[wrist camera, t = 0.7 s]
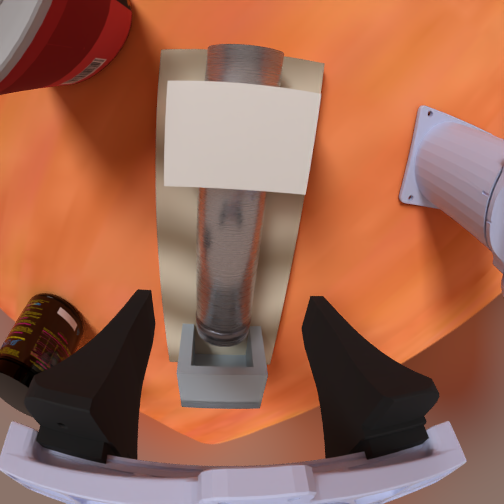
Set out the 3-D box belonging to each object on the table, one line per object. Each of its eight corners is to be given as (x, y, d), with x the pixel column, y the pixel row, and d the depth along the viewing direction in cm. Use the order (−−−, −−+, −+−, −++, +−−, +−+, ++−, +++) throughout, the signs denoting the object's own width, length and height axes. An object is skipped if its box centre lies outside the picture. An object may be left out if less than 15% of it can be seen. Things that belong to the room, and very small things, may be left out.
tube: (209, 52, 15) (204, 42, 11) (278, 58, 15) (292, 50, 12) (197, 309, 24) (194, 346, 21) (247, 310, 25) (251, 347, 21)
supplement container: (21, 306, 25) (-21, 380, 16) (48, 278, 23) (-3, 362, 14) (65, 346, 28) (36, 423, 19) (97, 325, 26) (66, 414, 17)
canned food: (156, -7, 13) (93, -78, 4) (104, 97, 16) (0, 121, 7) (68, -22, 11) (-25, -61, 1) (25, 74, 14) (-85, 93, 5)
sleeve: (184, 82, 16) (167, 80, 11) (295, 91, 17) (321, 93, 12) (179, 159, 18) (164, 186, 14) (285, 166, 19) (305, 194, 15)
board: (164, 51, 15) (161, 49, 15) (319, 64, 17) (324, 63, 16) (170, 354, 29) (169, 361, 28) (268, 356, 30) (269, 364, 29)
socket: (182, 323, 25) (176, 372, 21) (260, 326, 26) (267, 375, 22) (185, 360, 28) (181, 406, 23) (254, 362, 29) (259, 408, 24)
